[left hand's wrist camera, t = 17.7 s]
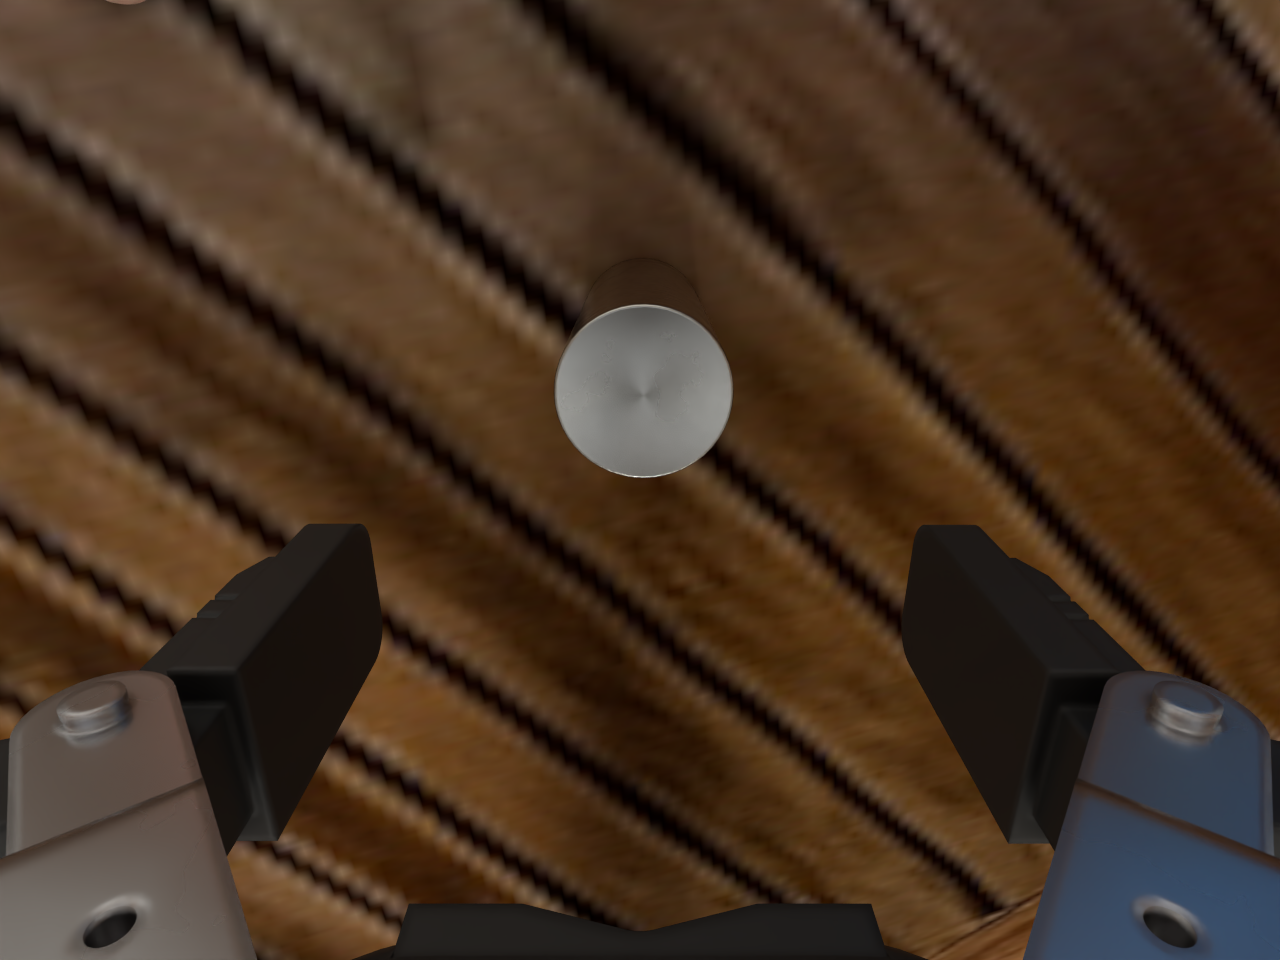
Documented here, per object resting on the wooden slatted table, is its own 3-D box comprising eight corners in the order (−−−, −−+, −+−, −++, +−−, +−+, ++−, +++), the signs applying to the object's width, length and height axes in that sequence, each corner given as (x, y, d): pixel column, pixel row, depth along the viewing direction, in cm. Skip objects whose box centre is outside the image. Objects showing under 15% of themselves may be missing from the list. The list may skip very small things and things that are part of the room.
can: (711, 360, 33) (749, 456, 21) (601, 387, 33) (582, 496, 22) (686, 244, 31) (713, 283, 20) (570, 275, 31) (530, 329, 20)
